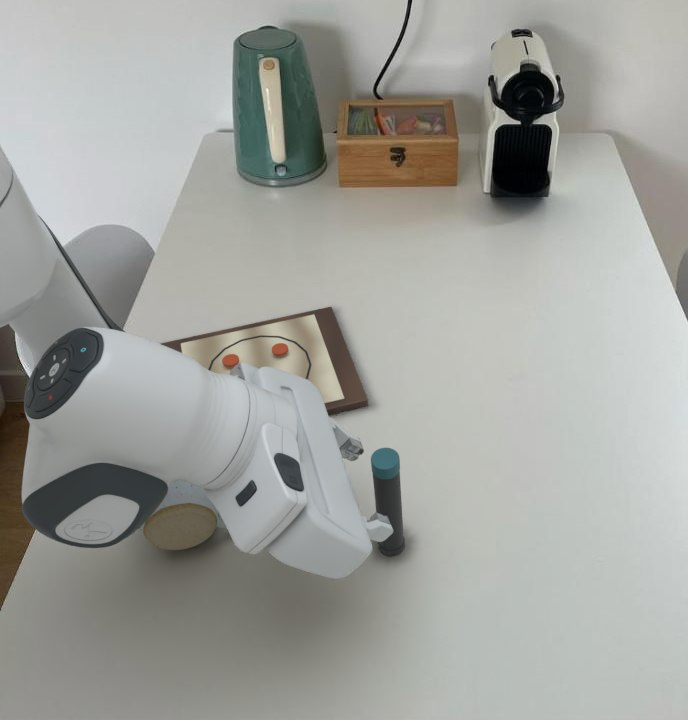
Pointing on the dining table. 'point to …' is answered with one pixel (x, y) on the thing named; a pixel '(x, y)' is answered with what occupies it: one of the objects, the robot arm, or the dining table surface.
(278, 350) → the right eye
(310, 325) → the brown framed board
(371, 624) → the dining table surface
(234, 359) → the left eye
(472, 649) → the dining table surface
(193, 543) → the ceramic mug
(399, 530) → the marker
